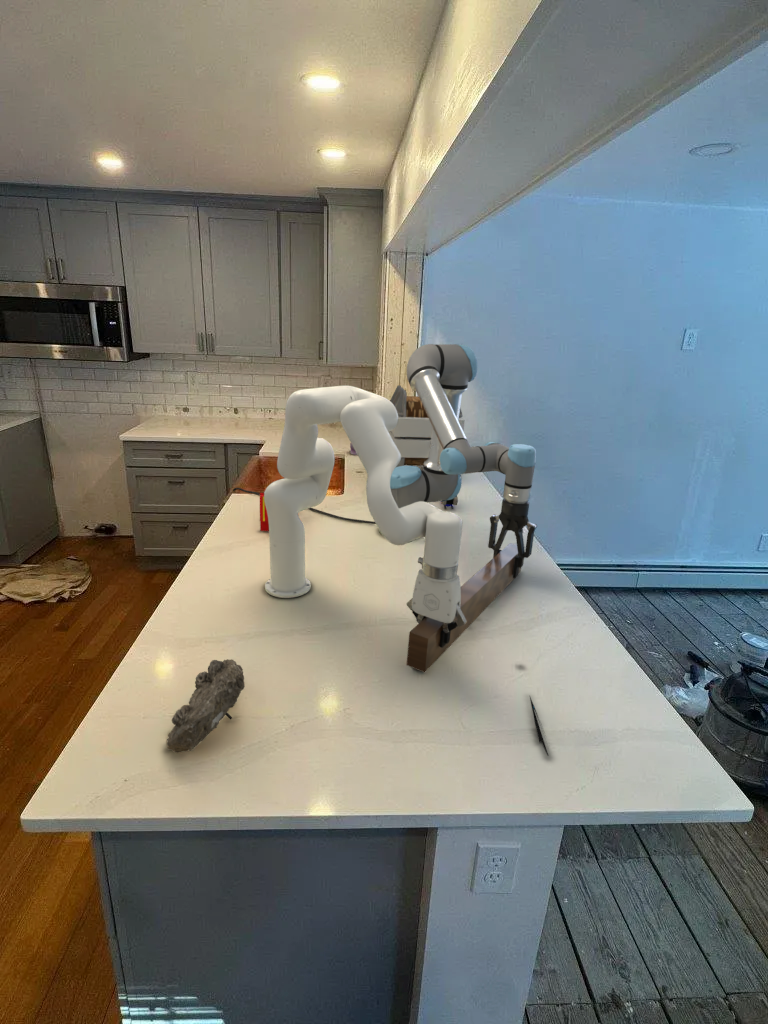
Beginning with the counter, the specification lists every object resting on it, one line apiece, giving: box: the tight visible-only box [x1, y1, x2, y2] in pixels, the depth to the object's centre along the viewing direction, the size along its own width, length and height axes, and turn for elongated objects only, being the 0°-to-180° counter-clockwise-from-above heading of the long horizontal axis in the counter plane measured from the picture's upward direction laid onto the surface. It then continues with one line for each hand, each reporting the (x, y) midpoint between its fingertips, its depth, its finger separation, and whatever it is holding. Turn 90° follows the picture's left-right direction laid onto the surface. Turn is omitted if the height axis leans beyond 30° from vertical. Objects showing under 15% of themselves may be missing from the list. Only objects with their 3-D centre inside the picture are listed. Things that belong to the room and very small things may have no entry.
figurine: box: [349, 442, 358, 456], centre depth 305 cm, size 9×10×15 cm
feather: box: [529, 696, 549, 756], centre depth 114 cm, size 2×28×2 cm
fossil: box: [166, 658, 245, 754], centre depth 106 cm, size 22×10×15 cm
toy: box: [259, 491, 269, 532], centre depth 208 cm, size 12×13×30 cm
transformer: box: [389, 384, 465, 467], centre depth 268 cm, size 34×33×41 cm
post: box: [406, 542, 526, 673], centre depth 148 cm, size 64×5×8 cm, turn 148°
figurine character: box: [440, 495, 459, 510], centre depth 230 cm, size 7×8×15 cm
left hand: (433, 640), depth 129 cm, fingers closed on post, 4 cm apart
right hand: (506, 573), depth 168 cm, fingers open, 5 cm apart
